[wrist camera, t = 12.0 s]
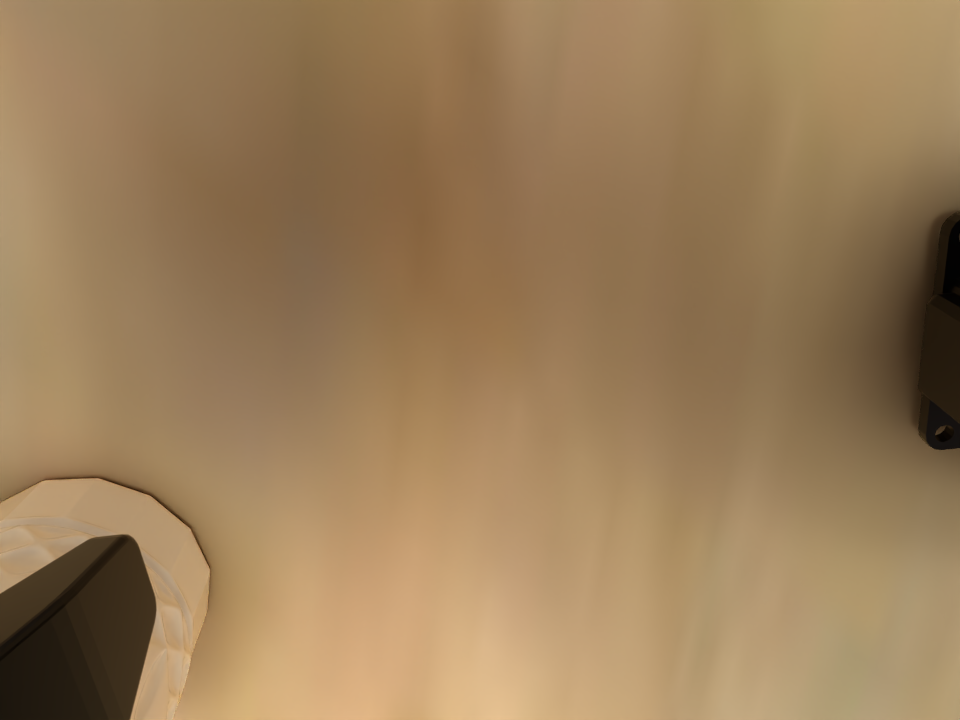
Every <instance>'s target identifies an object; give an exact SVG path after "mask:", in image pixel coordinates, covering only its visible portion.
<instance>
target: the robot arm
mask: <svg viewBox="0 0 960 720" xmlns="http://www.w3.org/2000/svg"><path fill="white" fill-rule="evenodd" d="M959 234H960V212H958V213H955V214H953V215H952V216H950V217H949V218H948V219H947V220H946V221H945V223H944V224H943V225H942V228H941V232H940V238H939V247H938V256H937V265H936V274H935V283H934V292H933V297H932V298H931V299H930V301H929V302H928V304H927V308H926V317H925V326H924V335H923V345H922V354H921V363H920V372H919V381H918V389H919V390H920V391H921V392H922V399H921V408H920V417H919V426H918V431H919V436H920V437H921V438H922V440H923V441H925V442H926V443H927V444H928V445H929V446H930V447H932V448H934V449H938V450H945V449H955V448H960V241H959ZM944 425H946V427H945V430H944V431H943V432H942V433H940V434H937V435H935V433H936V431H937V429H939V428H940V427H941V426H944ZM156 611H157V606H156V597H155V593H154V590H153V587H152V584H151V581H150V578H149V575H148V572H147V569H146V566H145V563H144V560H143V557H142V554H141V551H140V548H139V545H138V543H137V542H136V540H135V539H134V538H133V537H131V536H130V535H128V534H119V535H109V536H100V537H94V538H90V539H88V540H86V541H85V542H83V543H82V544H80V545H78V546H77V547H75V548H73V549H72V550H70V551H69V552H67V553H65V554H64V555H62V556H60V557H59V558H57V559H56V560H54V561H52V562H51V563H49V564H47V565H46V566H44V567H42V568H41V569H39V570H38V571H36V572H34V573H33V574H31V575H29V576H28V577H26V578H25V579H23V580H21V581H20V582H18V583H16V584H15V585H13V586H12V587H10V588H8V589H7V590H5V591H3V592H2V593H0V720H130V719H131V715H132V711H133V707H134V703H135V699H136V695H137V691H138V687H139V683H140V679H141V675H142V671H143V667H144V663H145V660H146V656H147V652H148V648H149V644H150V640H151V636H152V632H153V628H154V624H155V619H156Z"/></svg>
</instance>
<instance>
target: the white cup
mask: <svg viewBox="0 0 960 720" xmlns="http://www.w3.org/2000/svg"><path fill="white" fill-rule="evenodd" d="M119 534H128V535H130V536H131V537H133V538H134V539H135V540H136V542H137V543H138V545H139V548H140V551H141V554H142V557H143V560H144V563H145V566H146V569H147V572H148V575H149V578H150V581H151V584H152V587H153V590H154V593H155V597H156V606H157V611H156V619H155V624H154V628H153V632H152V636H151V640H150V644H149V648H148V652H147V656H146V660H145V663H144V667H143V671H142V675H141V679H140V683H139V687H138V691H137V695H136V699H135V703H134V707H133V711H132V715H131V719H130V720H173V718H174V714H175V711H176V709H177V707H178V704H179V702H180V699H181V696H182V693H183V689H184V686H185V682H186V679H187V675H188V671H189V667H190V662H191V656H192V653H193V650H194V647H195V645H196V642H197V639H198V636H199V634H200V631H201V628H202V625H203V623H204V620H205V617H206V614H207V608H208V596H209V583H210V568H209V566H208V564H207V562H206V560H205V558H204V556H203V554H202V552H201V550H200V548H199V546H198V544H197V541H196V539H195V537H194V535H193V533H192V531H191V529H190V528H189V527H188V526H186V525H185V524H184V523H183V522H181V521H180V520H179V519H178V518H177V517H175V516H174V515H173V514H172V513H171V512H169V511H168V510H167V509H166V508H165V507H163V506H162V505H161V504H160V503H158V502H157V501H156V500H155V499H154V498H152V497H151V496H149V495H147V494H144V493H141V492H138V491H135V490H132V489H129V488H126V487H123V486H120V485H117V484H114V483H111V482H108V481H105V480H103V479H99V478H85V479H61V480H44V481H41V482H39V483H38V484H36V485H34V486H32V487H30V488H28V489H26V490H24V491H22V492H20V493H18V494H16V495H14V496H12V497H10V498H8V499H6V500H5V501H3V502H1V503H0V593H2V592H3V591H5V590H7V589H8V588H10V587H12V586H13V585H15V584H16V583H18V582H20V581H21V580H23V579H25V578H26V577H28V576H29V575H31V574H33V573H34V572H36V571H38V570H39V569H41V568H42V567H44V566H46V565H47V564H49V563H51V562H52V561H54V560H56V559H57V558H59V557H60V556H62V555H64V554H65V553H67V552H69V551H70V550H72V549H73V548H75V547H77V546H78V545H80V544H82V543H83V542H85V541H86V540H88V539H90V538H94V537H100V536H109V535H119Z"/></svg>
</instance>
